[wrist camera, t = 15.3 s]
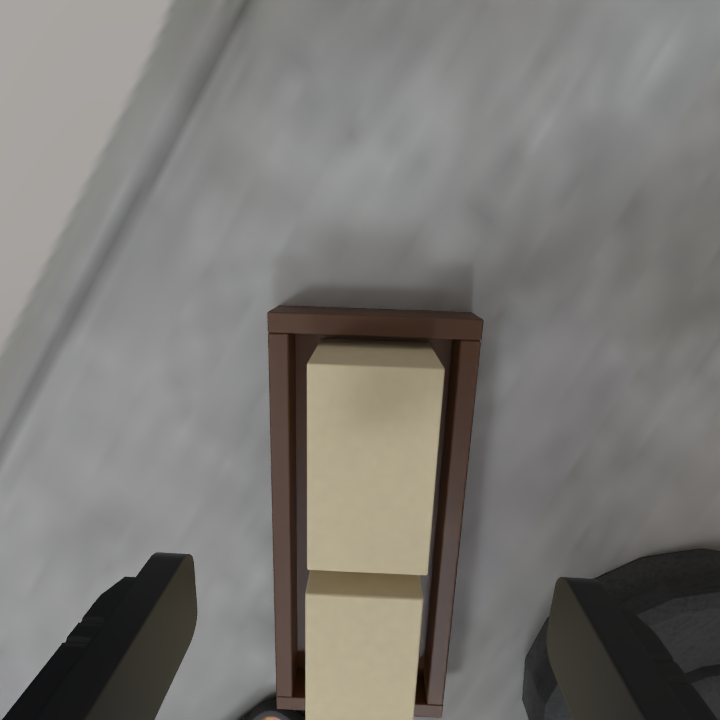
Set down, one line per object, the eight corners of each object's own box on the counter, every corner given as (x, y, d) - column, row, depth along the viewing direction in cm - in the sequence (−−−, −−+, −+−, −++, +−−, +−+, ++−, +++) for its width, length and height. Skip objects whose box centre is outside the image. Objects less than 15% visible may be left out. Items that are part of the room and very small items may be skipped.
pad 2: (318, 527, 20) (305, 593, 16) (413, 531, 20) (423, 599, 16) (317, 661, 22) (305, 749, 18) (404, 666, 22) (410, 755, 18)
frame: (278, 305, 18) (266, 311, 16) (471, 311, 18) (483, 319, 16) (284, 670, 23) (276, 709, 21) (436, 678, 23) (441, 718, 21)
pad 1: (321, 338, 18) (306, 363, 14) (429, 342, 18) (445, 368, 14) (319, 507, 20) (306, 570, 16) (417, 512, 20) (427, 576, 16)
